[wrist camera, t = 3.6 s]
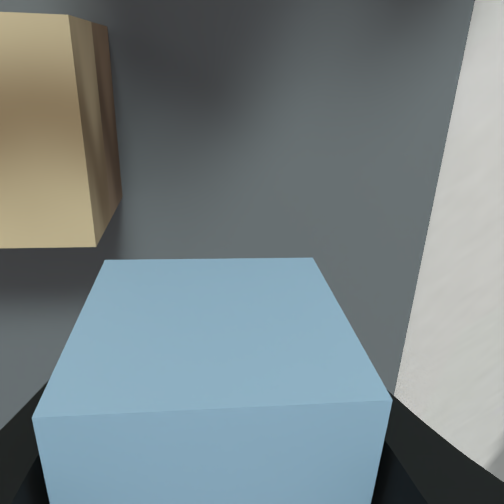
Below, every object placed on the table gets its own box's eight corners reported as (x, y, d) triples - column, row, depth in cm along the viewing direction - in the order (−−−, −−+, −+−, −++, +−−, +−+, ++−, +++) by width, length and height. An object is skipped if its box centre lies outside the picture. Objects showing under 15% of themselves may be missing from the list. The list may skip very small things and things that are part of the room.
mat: (385, 421, 24) (387, 425, 24) (-41, 448, 22) (-44, 453, 22) (495, -125, 15) (500, -128, 15) (-244, -189, 12) (-254, -195, 12)
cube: (297, 412, 13) (349, 604, 8) (121, 421, 12) (77, 632, 8) (312, 257, 11) (393, 400, 6) (104, 259, 10) (30, 418, 6)
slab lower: (122, 196, 17) (111, 218, 15) (-41, 197, 17) (-78, 219, 15) (107, 26, 15) (91, 21, 13) (-84, 18, 14) (-137, 12, 12)
